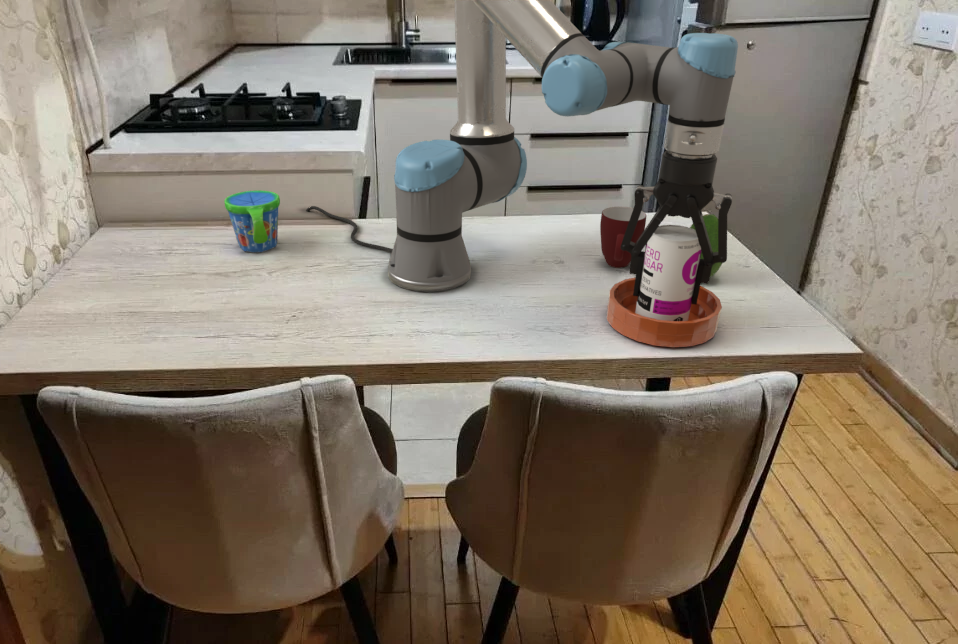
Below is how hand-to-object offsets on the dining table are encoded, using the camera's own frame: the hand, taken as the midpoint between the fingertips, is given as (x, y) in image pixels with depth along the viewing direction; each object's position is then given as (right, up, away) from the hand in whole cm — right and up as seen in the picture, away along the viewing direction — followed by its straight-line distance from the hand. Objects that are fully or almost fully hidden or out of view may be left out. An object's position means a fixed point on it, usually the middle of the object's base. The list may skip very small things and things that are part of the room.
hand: (664, 296), depth 115 cm
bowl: (0, -4, +2) cm, 5 cm away
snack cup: (-72, +12, +32) cm, 79 cm away
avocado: (+11, +5, +18) cm, 22 cm away
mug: (-2, +7, +22) cm, 24 cm away
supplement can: (0, -4, +2) cm, 5 cm away
